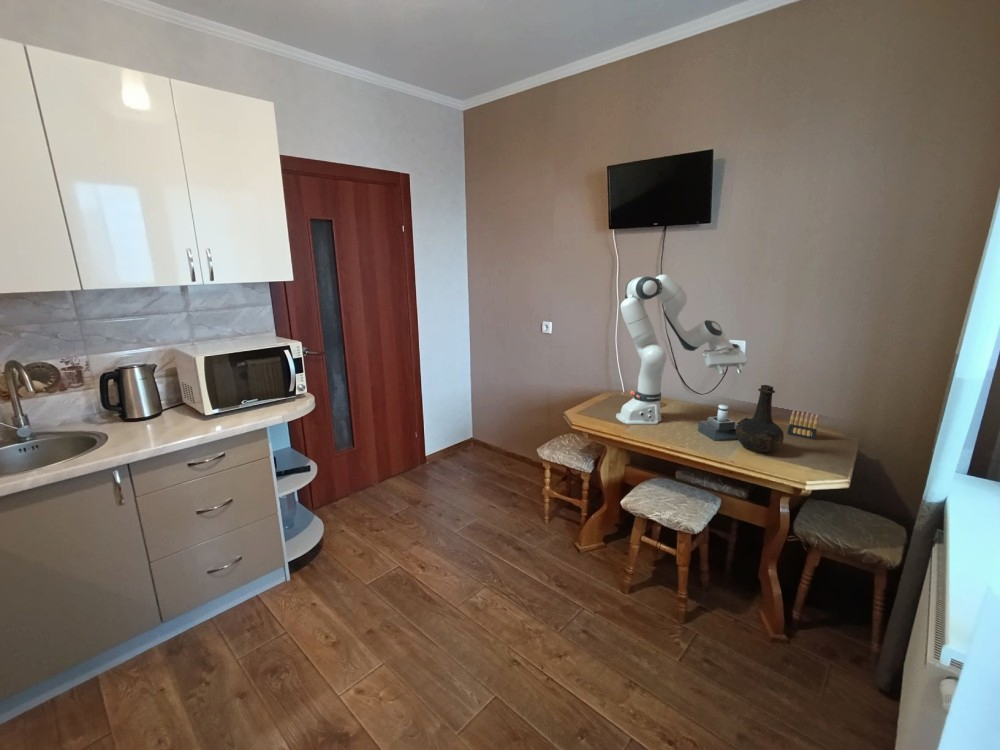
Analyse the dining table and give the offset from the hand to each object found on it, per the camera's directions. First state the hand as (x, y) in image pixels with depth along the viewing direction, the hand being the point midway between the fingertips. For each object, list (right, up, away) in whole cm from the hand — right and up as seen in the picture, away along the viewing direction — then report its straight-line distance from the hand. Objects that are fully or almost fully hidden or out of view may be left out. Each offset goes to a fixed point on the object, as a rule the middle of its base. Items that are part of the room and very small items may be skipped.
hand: (731, 373), depth 210 cm
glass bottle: (-1, -32, -22) cm, 39 cm away
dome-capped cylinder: (-9, -24, -9) cm, 27 cm away
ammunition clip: (+26, -29, -10) cm, 41 cm away
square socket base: (-10, -28, -7) cm, 31 cm away
